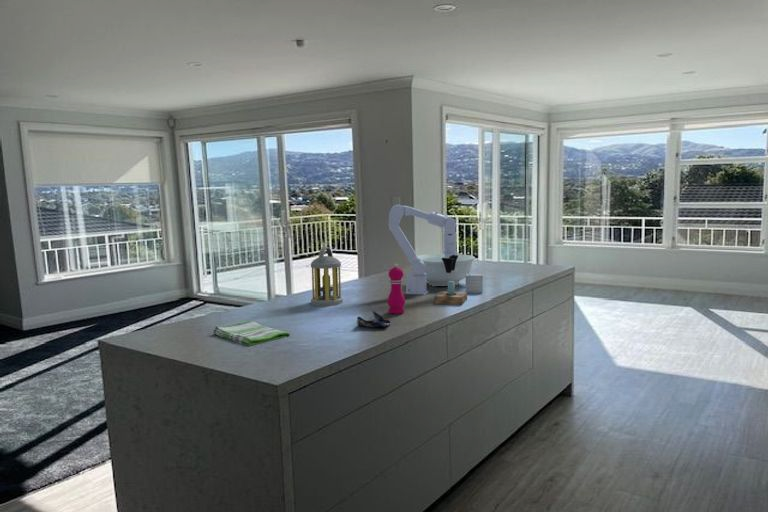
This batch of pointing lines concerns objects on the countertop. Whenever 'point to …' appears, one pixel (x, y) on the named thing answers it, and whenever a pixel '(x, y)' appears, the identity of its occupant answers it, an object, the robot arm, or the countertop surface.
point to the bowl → (438, 272)
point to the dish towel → (248, 333)
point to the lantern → (326, 279)
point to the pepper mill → (396, 291)
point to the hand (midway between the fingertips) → (450, 271)
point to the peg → (451, 288)
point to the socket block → (450, 298)
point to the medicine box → (474, 283)
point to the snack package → (376, 323)
